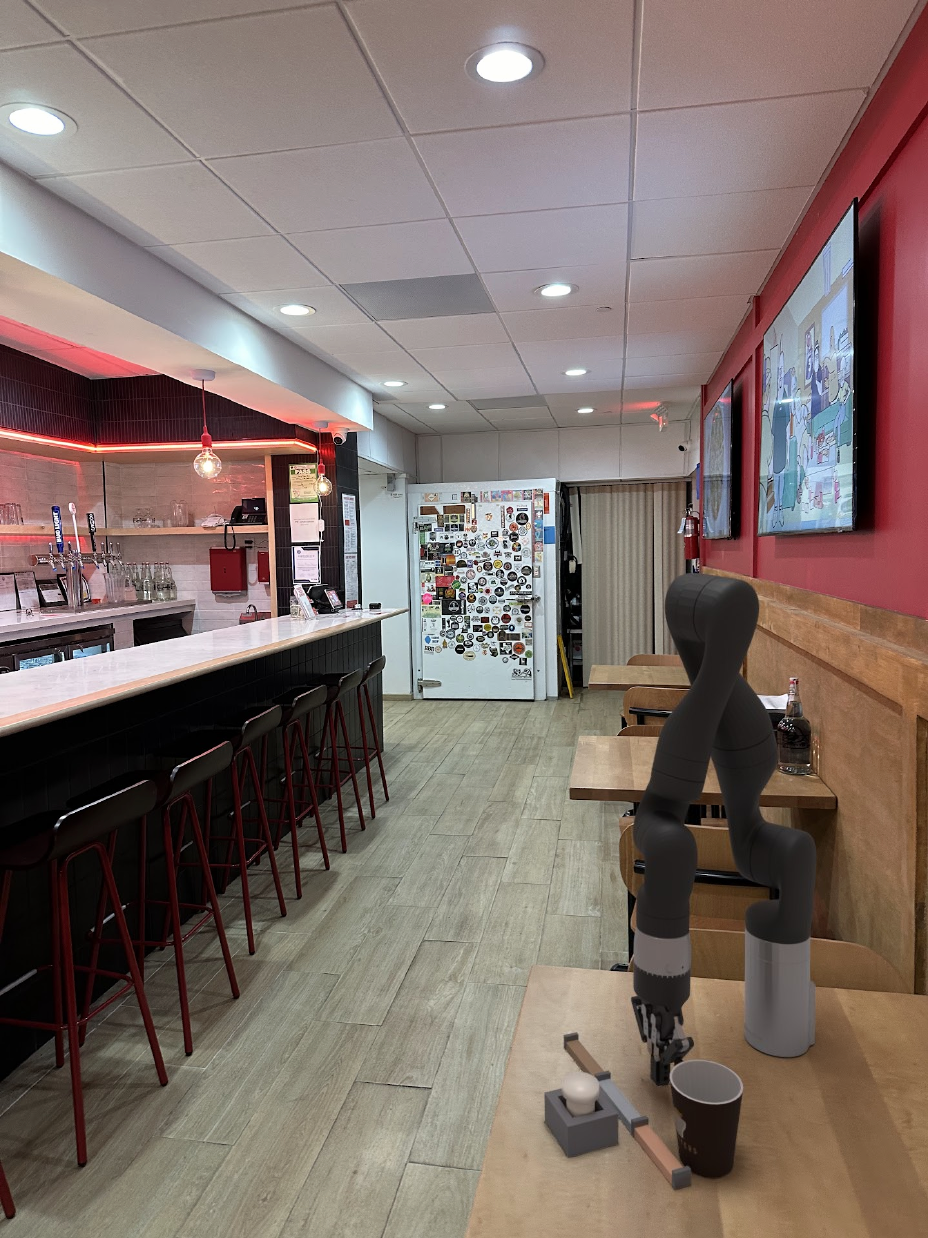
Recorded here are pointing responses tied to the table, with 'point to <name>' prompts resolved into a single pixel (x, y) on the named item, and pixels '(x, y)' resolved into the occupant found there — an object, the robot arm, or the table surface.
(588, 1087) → the dome plunger
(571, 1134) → the dome housing
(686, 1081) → the coffee mug
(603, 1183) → the table surface
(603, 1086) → the slate segment
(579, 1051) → the walnut segment
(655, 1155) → the terracotta segment
